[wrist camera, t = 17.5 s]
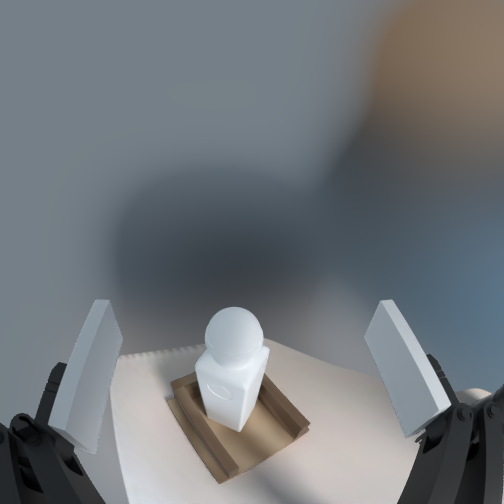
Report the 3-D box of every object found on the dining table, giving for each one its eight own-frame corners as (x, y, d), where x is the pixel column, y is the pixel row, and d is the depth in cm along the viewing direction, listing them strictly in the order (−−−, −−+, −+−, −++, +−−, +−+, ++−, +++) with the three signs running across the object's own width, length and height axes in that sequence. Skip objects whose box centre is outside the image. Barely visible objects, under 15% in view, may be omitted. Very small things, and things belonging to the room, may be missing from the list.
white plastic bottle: (202, 418, 35) (186, 323, 24) (222, 388, 41) (221, 285, 29) (241, 436, 33) (252, 351, 22) (259, 404, 39) (279, 305, 27)
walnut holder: (249, 366, 46) (252, 346, 43) (307, 431, 35) (318, 417, 32) (167, 403, 38) (161, 385, 35) (219, 484, 27) (218, 477, 24)
